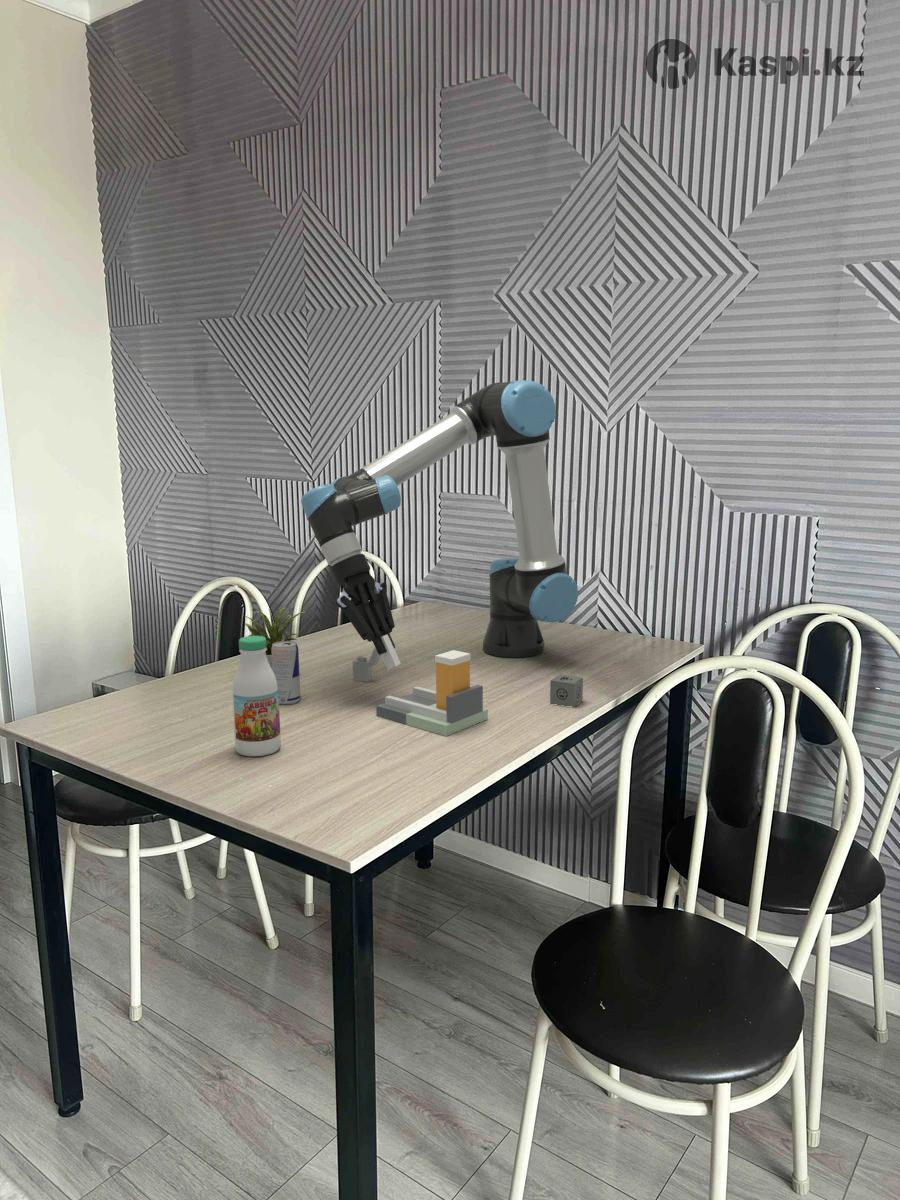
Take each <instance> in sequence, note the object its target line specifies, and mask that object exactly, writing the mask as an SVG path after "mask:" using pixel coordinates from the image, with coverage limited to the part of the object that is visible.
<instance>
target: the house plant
mask: <svg viewBox="0 0 900 1200" xmlns="http://www.w3.org/2000/svg"><path fill="white" fill-rule="evenodd" d="M285 609H286V606H285V607H283V608H281V609H280V610H279V611H278V613H277V615H276V617H275V619H274V617H273V614H272V612H271V610H270V609H268V612H269V616H270V617H269V618H268V616H267V615H266V614H264V613H263V612H261V611H260V610H258V609H256V610H255V611H256V612H257V613H258V614H259V616H260V617H261V618H262V619H263V621H264V624H265V628H266V630H267V631H266V630H265V629H264V627H262V626H261V625H260V624H259V623H258V622H257V621H255V620H254V619H253V618H251V617H249V616H247V615H244V618H245V617H246V618H247V619H249V620H250V622H251V623H253V624H254V626H255V627H256V628H257V629H258V630H259V631H260V632H259V631H258V630H257V629H256V628H254V627H253V625H251V624H249V623H246V622H244V625H245V626H246V627H247V629H248V630H249V632H250V633H252V634H250V635H248V636H263V637H265V638H266V642H267V646H266V648H267V650H266V657H267V660H268V663H269V665H270V667H271V669H272V650H271V648H272V644H273V643H275V642H280V641H297V639H296V638H291V637H292V636H299V634H297V633H295V632H294V633H289V634H287V635H286V636H285V637H284V638H283V635H284V633H285V631H286V630H287V628H288V627H289V626H290V625H291V624H292V622H293V621H294V620H295V619H296V617H298V616H299V615H301V614H304V613H306V611H302V612H297V613H296V614H295V615H292V614H290V613H291V612H290V611H289V612H285V613H284V611H285ZM286 614H287V615H286ZM282 615H283V616H282ZM285 615H286V616H285ZM291 615H292V616H291ZM284 616H285V618H284V620H283V622H282V624H281V621H282V619H283V617H284ZM280 624H281V628H280ZM279 628H280V629H279ZM299 637H300V636H299ZM272 671H273V670H272Z"/></svg>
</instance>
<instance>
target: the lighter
mask: <svg viewBox="0 0 900 1200" xmlns="http://www.w3.org/2000/svg"><path fill="white" fill-rule="evenodd" d="M381 657H382V656H381V655H379V654H378V652H377V650H376V648H375V647H374V648H373V651H372V653H371V655H370V657H369V659H368V657H367V656H362V655H359V656H357V657H356V659H353V660H352V680H353V681H357V680H358V682H363V681H366V682H365V683H370V682H373V667H376V666H377V665H378V664H379V661H380V658H381Z"/></svg>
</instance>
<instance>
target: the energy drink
mask: <svg viewBox="0 0 900 1200" xmlns="http://www.w3.org/2000/svg"><path fill="white" fill-rule="evenodd" d="M271 650H272V670H273V673H274V675H275V677H276V681H277V687H278V700H279V705H292V704H296V703H299V702H300V701H301V681H300V679H301V677H300V675H301V674H300V659H299V658H300V657H299V655H300V654H299V646H298V643H297V642H296V641H295V640H291V641H282V640H281V641H280V642H275V643H273V644H272V648H271Z"/></svg>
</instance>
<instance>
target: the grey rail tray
mask: <svg viewBox="0 0 900 1200" xmlns="http://www.w3.org/2000/svg"><path fill="white" fill-rule="evenodd" d="M483 693H484V686H483V685H481V684H476V685H472V686H470V688H467V689H464V690H461V691H459V692H456V693H453V694H450V695H447V696H446V711H445V710H441V709H437V708H436V690H433V689H428V688H424V687H422V686H421V687H420V686H414V687H412V693H410V694H407V695H403V696H400V697H396V696H393V695H388V696H385V697H384V700H385V701H384V702H383V703H380V704H377V705H375V710H376V711H375V715H376V716H377V717H378V718H379V717H380V718H383V719H387V720H389V721H394V722H396V721H397V722H396V723H401V724H403V725H407V726H411V727H414V728H417V729H420V730H424V731H428V732H429V733H434V734H438V735H441V736H444V737H448V736H451V735H452V733H453V734H455V733H458V732H459V731H463V730H465V729H467V727H468V728H471V727H473V726H475V725H478V724H480V723H482V722H485V721H488V718H489V717H488V716H489V714H488V713H489V712H488V709H487V708H484V706H483V705H484V701H483V700H484V699H483V698H484V696H483ZM484 720H485V721H484ZM479 722H480V723H479ZM477 723H478V724H477ZM472 725H473V726H472ZM462 729H463V730H462ZM450 734H451V735H450Z"/></svg>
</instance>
